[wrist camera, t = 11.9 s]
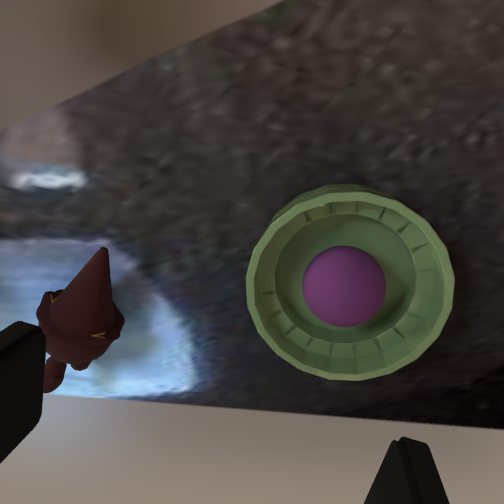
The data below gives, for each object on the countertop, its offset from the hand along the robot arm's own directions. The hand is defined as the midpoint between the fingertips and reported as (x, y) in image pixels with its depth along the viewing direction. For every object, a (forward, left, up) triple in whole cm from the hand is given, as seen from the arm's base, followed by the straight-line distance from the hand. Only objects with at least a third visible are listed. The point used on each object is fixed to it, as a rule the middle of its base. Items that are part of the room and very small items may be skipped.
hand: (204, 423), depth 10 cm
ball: (+2, +6, -19) cm, 20 cm away
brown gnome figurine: (+12, -14, -23) cm, 30 cm away
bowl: (+2, +6, -23) cm, 24 cm away
